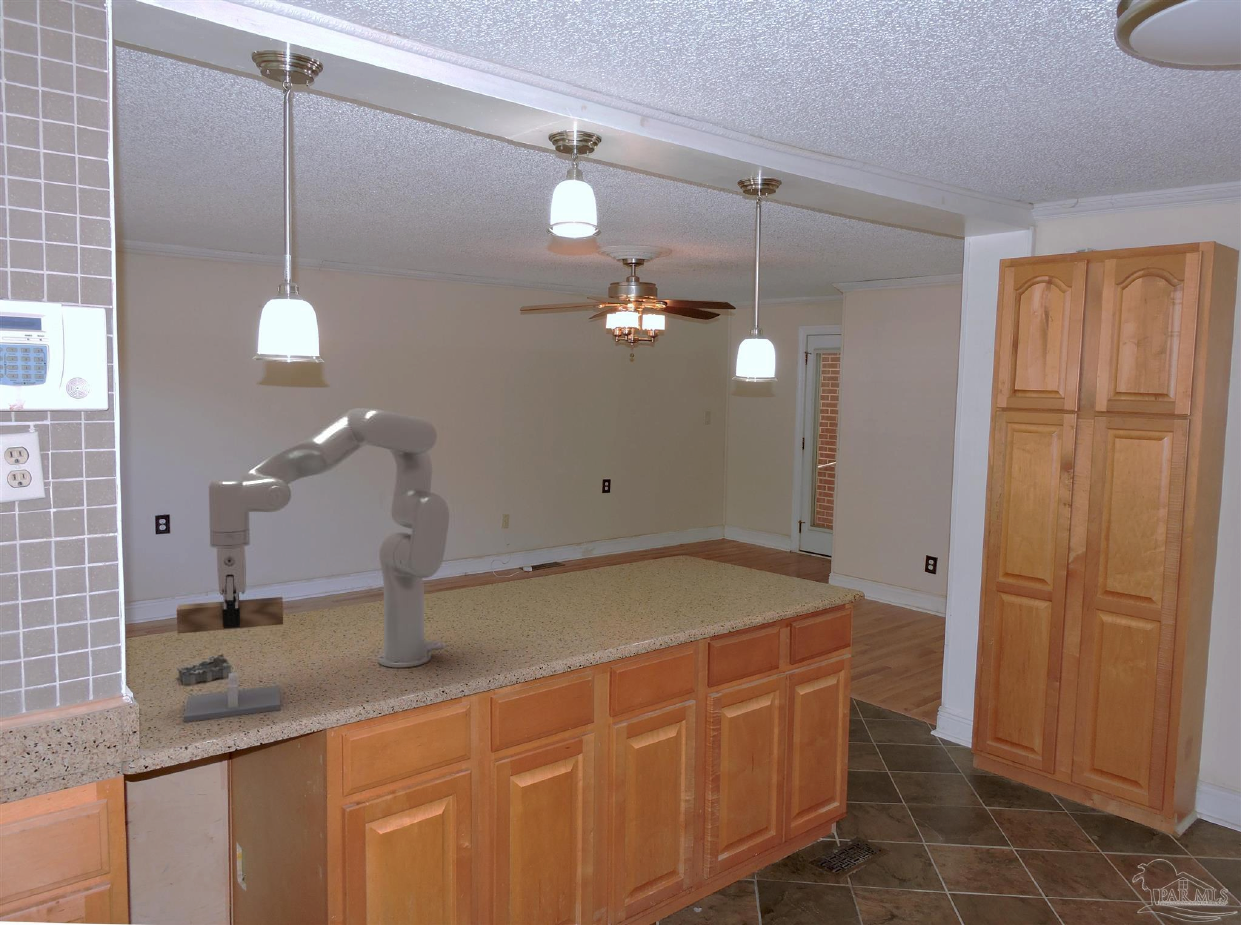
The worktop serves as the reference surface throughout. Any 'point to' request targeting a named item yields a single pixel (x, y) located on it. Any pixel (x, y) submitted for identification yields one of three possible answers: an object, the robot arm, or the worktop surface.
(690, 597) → the worktop surface
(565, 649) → the worktop surface
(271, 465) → the robot arm
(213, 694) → the fulcrum board
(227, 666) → the egg carton
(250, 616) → the beam
